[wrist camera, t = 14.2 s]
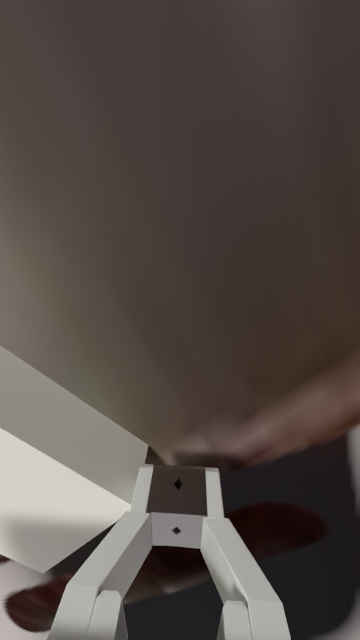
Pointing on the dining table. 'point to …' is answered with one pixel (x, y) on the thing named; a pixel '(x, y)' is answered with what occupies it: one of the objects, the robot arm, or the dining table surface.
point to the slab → (57, 468)
